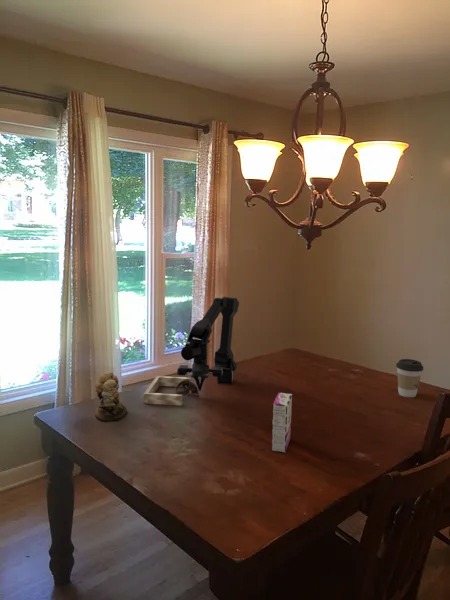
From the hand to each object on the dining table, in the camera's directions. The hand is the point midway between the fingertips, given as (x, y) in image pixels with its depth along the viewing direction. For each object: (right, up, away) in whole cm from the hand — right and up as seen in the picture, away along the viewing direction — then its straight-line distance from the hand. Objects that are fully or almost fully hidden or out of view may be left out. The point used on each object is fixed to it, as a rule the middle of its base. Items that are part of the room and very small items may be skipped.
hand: (200, 390), depth 207 cm
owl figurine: (-33, -5, -21) cm, 39 cm away
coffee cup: (+91, -4, +9) cm, 92 cm away
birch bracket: (-14, -2, +2) cm, 14 cm away
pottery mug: (-5, -3, 0) cm, 6 cm away
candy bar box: (+29, -11, -43) cm, 53 cm away
